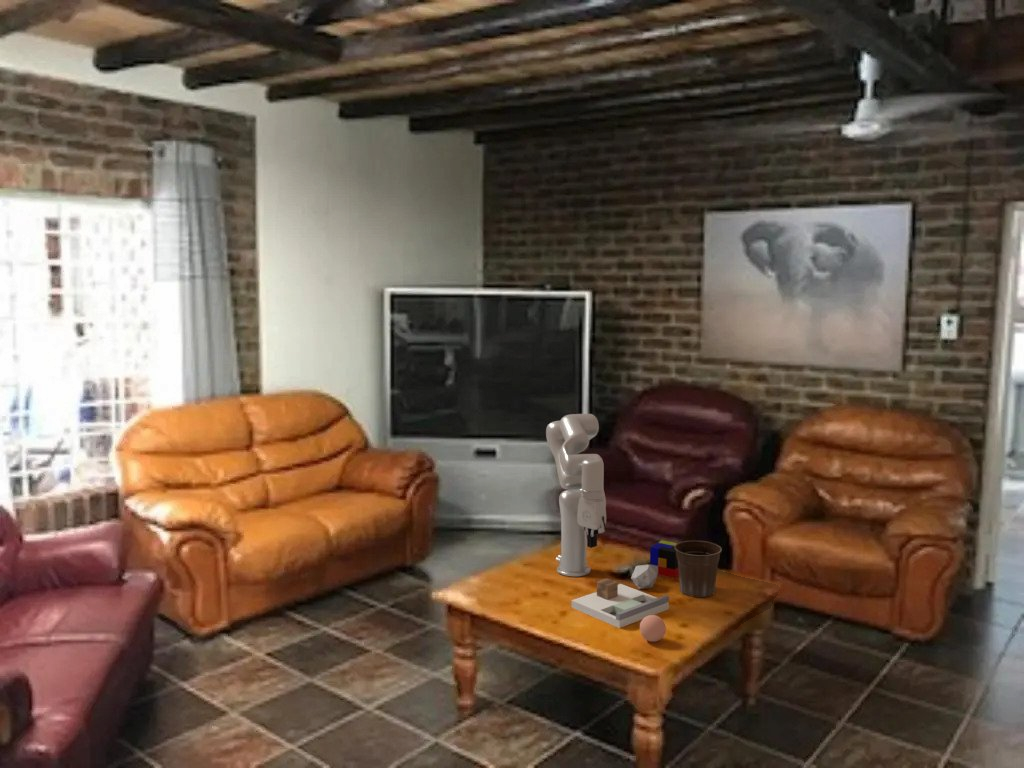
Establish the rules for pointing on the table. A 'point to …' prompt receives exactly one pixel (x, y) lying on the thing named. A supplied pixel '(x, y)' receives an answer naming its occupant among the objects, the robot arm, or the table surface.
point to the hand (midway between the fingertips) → (592, 546)
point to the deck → (621, 606)
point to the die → (644, 576)
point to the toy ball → (652, 628)
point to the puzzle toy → (664, 559)
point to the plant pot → (697, 567)
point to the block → (607, 589)
